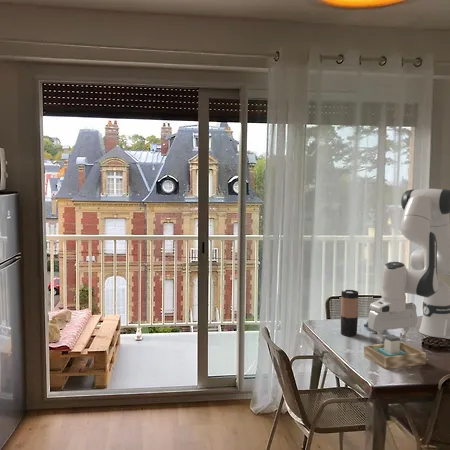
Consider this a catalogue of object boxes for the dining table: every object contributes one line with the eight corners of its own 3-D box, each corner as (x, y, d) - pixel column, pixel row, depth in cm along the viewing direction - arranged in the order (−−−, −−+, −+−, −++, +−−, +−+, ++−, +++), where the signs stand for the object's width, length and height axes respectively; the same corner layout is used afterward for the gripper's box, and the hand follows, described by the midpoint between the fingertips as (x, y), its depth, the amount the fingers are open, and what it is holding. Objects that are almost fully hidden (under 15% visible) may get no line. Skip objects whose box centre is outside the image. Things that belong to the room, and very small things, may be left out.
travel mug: (357, 337, 211) (359, 293, 209) (340, 336, 212) (341, 292, 211) (356, 332, 218) (357, 290, 217) (339, 331, 220) (341, 289, 218)
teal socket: (393, 355, 186) (393, 346, 185) (405, 361, 179) (406, 353, 178) (377, 357, 183) (377, 348, 183) (389, 363, 176) (389, 354, 176)
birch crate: (401, 351, 192) (402, 341, 192) (425, 364, 179) (426, 353, 178) (363, 356, 187) (364, 345, 186) (385, 369, 173) (385, 357, 173)
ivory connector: (392, 357, 184) (393, 334, 183) (399, 360, 180) (400, 337, 179) (383, 358, 182) (384, 335, 182) (390, 361, 179) (391, 338, 178)
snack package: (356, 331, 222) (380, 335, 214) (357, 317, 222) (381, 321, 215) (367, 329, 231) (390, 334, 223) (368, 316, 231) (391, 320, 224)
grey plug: (399, 344, 201) (399, 335, 201) (405, 347, 197) (405, 338, 197) (381, 346, 198) (381, 337, 198) (387, 349, 195) (387, 340, 194)
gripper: (410, 300, 186) (409, 334, 187) (366, 304, 180) (365, 339, 181) (421, 304, 180) (420, 339, 181) (376, 308, 174) (375, 344, 175)
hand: (392, 339), depth 181 cm, fingers open, 8 cm apart
